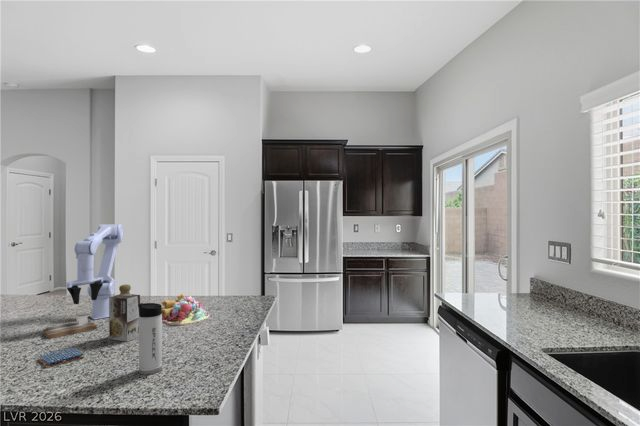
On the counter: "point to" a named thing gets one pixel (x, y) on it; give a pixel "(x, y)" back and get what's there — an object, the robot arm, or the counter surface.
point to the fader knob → (81, 318)
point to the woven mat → (60, 357)
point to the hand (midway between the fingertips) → (85, 301)
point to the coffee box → (124, 317)
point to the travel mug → (150, 338)
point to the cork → (125, 289)
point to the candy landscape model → (183, 311)
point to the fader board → (68, 329)
